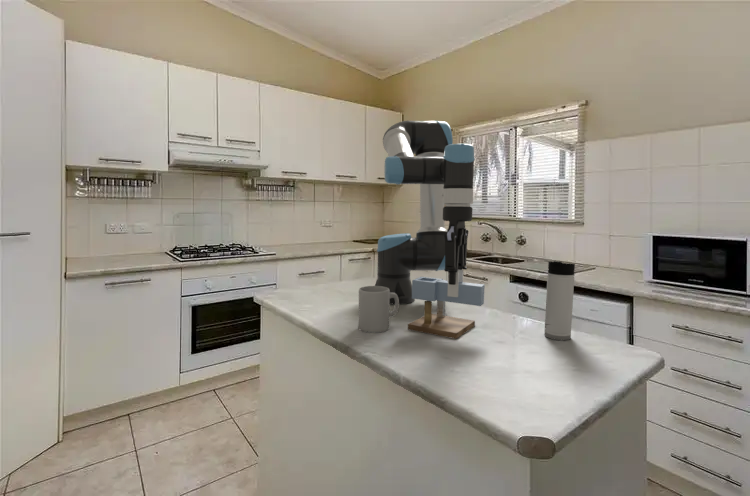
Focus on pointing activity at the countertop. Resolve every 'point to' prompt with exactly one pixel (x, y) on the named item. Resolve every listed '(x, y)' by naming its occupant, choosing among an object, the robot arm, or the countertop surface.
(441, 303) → the block
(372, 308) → the mug
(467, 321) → the board
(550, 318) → the travel mug
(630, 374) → the countertop surface
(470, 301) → the link
